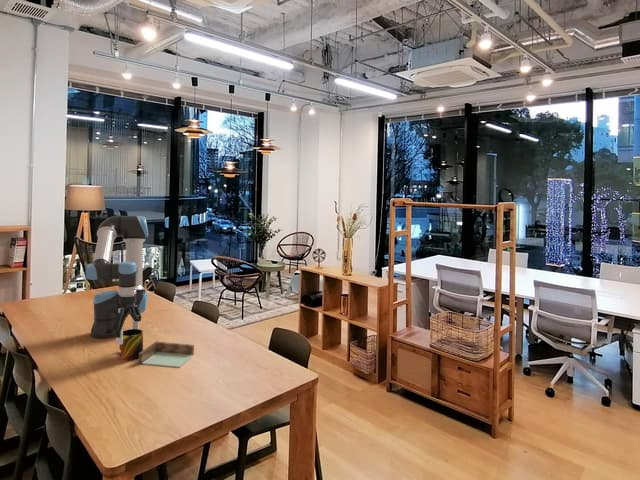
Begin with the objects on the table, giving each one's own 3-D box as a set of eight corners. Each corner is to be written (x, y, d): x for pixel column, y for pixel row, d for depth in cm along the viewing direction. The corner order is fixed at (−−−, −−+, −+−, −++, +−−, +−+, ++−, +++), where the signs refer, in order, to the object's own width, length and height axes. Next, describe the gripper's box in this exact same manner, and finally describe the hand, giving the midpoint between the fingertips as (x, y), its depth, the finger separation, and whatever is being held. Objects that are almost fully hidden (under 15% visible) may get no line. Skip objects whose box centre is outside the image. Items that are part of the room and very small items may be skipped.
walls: (138, 364, 193) (138, 353, 192) (155, 351, 208) (155, 341, 208) (179, 367, 191) (179, 357, 190) (194, 354, 206) (194, 344, 206)
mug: (120, 351, 207) (120, 327, 205) (147, 354, 205) (146, 330, 203) (108, 358, 197) (107, 334, 196) (135, 361, 195) (135, 336, 194)
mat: (142, 364, 193) (142, 363, 193) (157, 352, 206) (157, 351, 206) (179, 367, 191) (179, 366, 191) (192, 356, 204) (192, 354, 204)
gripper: (119, 301, 185) (119, 348, 187) (148, 289, 209) (148, 331, 211) (103, 300, 185) (104, 347, 187) (134, 289, 210) (134, 330, 212)
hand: (127, 339), depth 199 cm, fingers open, 13 cm apart
